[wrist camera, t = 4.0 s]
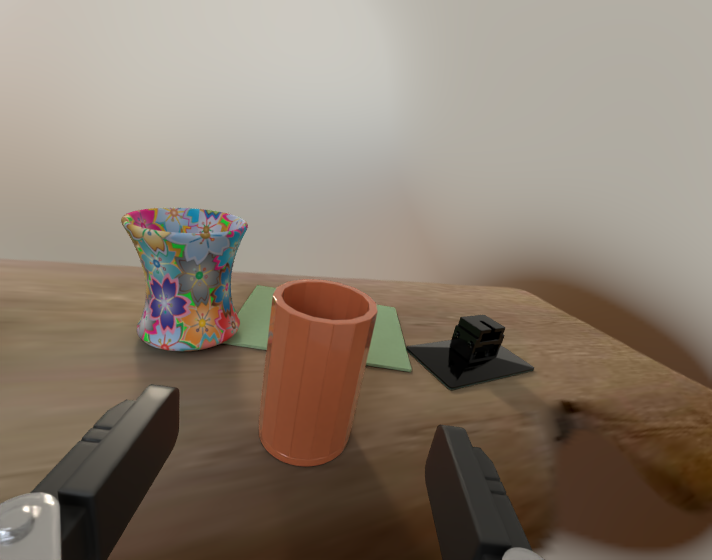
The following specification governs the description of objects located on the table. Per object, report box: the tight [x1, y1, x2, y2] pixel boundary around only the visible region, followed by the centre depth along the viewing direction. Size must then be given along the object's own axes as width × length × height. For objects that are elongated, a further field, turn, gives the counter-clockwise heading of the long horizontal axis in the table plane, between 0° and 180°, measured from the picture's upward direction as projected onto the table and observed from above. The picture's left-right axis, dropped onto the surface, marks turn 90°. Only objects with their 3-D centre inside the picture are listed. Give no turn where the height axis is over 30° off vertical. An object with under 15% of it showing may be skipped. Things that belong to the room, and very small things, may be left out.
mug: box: [121, 208, 248, 351], centre depth 32 cm, size 12×9×11 cm
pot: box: [259, 279, 378, 467], centre depth 23 cm, size 6×6×10 cm
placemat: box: [222, 285, 412, 372], centre depth 40 cm, size 18×14×1 cm
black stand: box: [406, 315, 534, 390], centre depth 38 cm, size 12×7×5 cm, turn 118°
